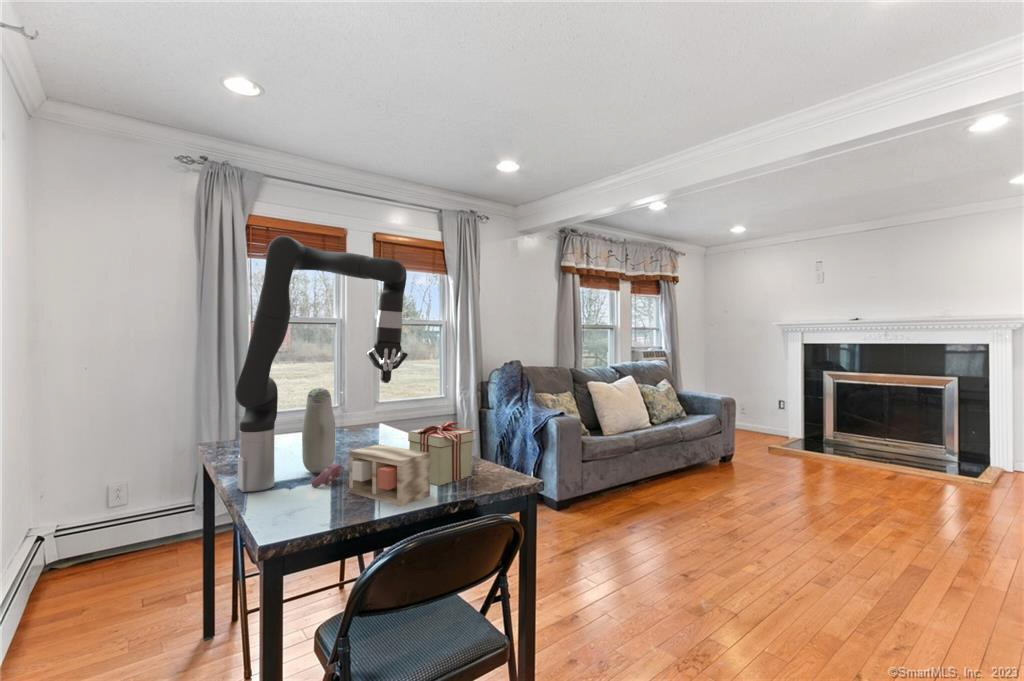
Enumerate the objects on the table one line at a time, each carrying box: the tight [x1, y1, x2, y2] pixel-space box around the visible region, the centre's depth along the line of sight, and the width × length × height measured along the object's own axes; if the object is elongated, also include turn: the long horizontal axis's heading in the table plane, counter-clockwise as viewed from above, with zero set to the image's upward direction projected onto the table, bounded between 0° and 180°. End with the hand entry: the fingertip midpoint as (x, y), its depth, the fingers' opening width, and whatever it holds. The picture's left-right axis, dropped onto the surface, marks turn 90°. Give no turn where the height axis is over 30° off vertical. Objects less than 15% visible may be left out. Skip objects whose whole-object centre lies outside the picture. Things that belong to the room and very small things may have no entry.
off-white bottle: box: [301, 387, 336, 474], centre depth 163 cm, size 10×10×28 cm
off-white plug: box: [352, 459, 372, 481], centre depth 141 cm, size 8×4×5 cm, turn 147°
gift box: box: [407, 421, 477, 487], centre depth 157 cm, size 17×18×17 cm
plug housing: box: [348, 443, 431, 507], centre depth 139 cm, size 11×21×12 cm, turn 57°
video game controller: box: [311, 463, 344, 488], centre depth 150 cm, size 10×5×7 cm, turn 170°
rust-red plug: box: [378, 465, 397, 490], centre depth 133 cm, size 8×4×5 cm, turn 147°
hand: (385, 382), depth 150 cm, fingers closed
